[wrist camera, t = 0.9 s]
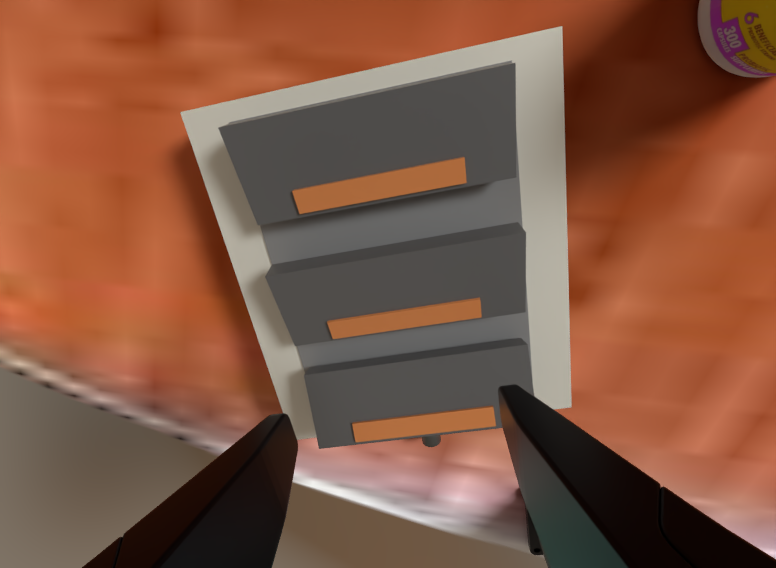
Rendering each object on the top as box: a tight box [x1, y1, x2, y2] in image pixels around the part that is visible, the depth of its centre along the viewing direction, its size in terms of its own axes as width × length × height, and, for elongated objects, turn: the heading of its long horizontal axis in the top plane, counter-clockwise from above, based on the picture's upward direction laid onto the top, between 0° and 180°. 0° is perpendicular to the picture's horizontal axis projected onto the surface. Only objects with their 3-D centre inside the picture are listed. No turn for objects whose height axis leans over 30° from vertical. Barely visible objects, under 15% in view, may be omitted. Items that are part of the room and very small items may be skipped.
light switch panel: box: [180, 26, 571, 447], centre depth 20 cm, size 21×16×3 cm
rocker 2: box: [265, 222, 526, 346], centre depth 17 cm, size 4×11×2 cm, turn 101°
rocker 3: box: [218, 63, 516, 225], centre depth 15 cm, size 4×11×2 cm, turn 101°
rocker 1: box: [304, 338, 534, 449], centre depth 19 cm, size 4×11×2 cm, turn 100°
